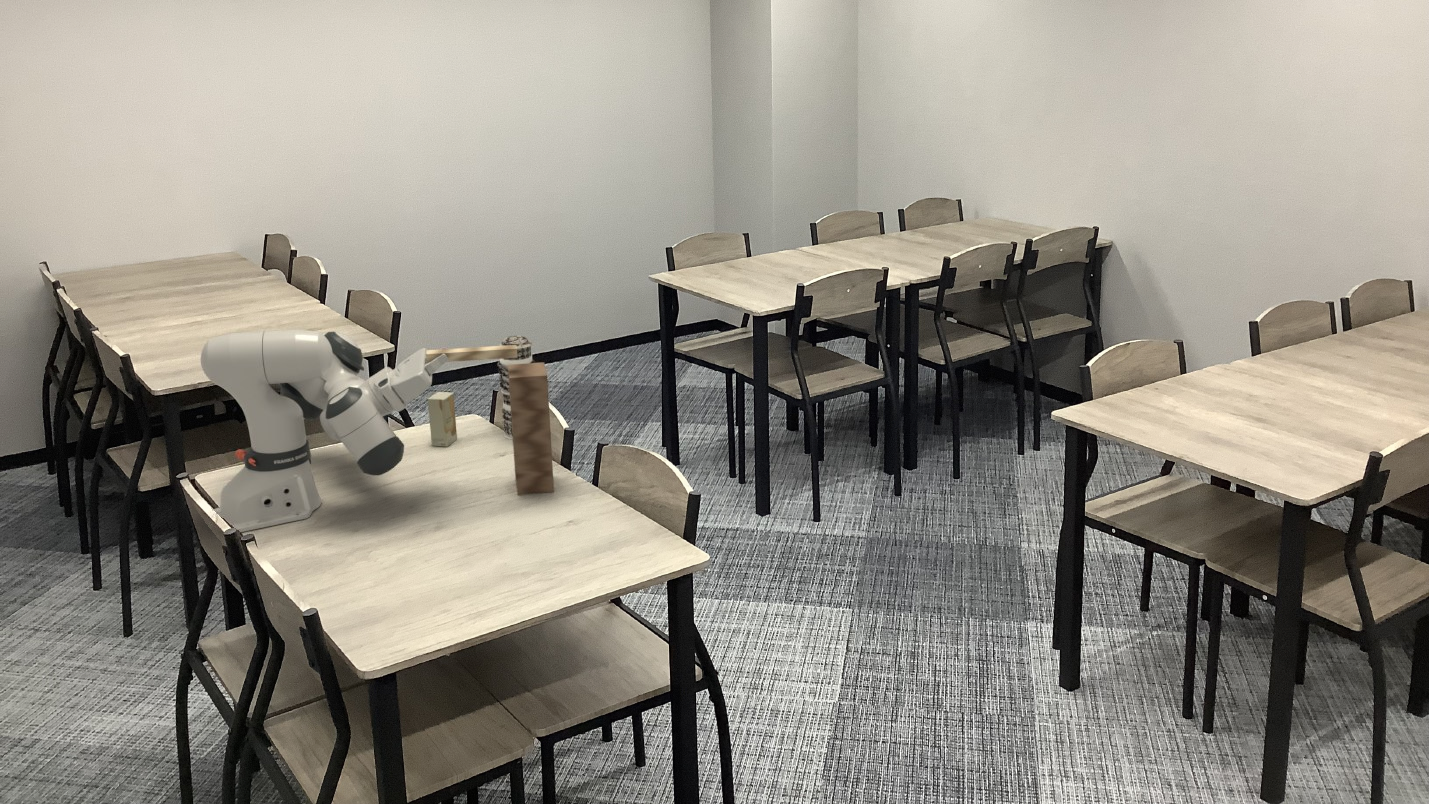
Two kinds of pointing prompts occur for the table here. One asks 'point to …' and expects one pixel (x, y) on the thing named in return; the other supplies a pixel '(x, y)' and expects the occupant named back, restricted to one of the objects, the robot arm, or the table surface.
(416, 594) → the table surface
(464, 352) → the slat
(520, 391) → the pedestal
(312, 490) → the robot arm
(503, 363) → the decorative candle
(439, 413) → the skincare box
